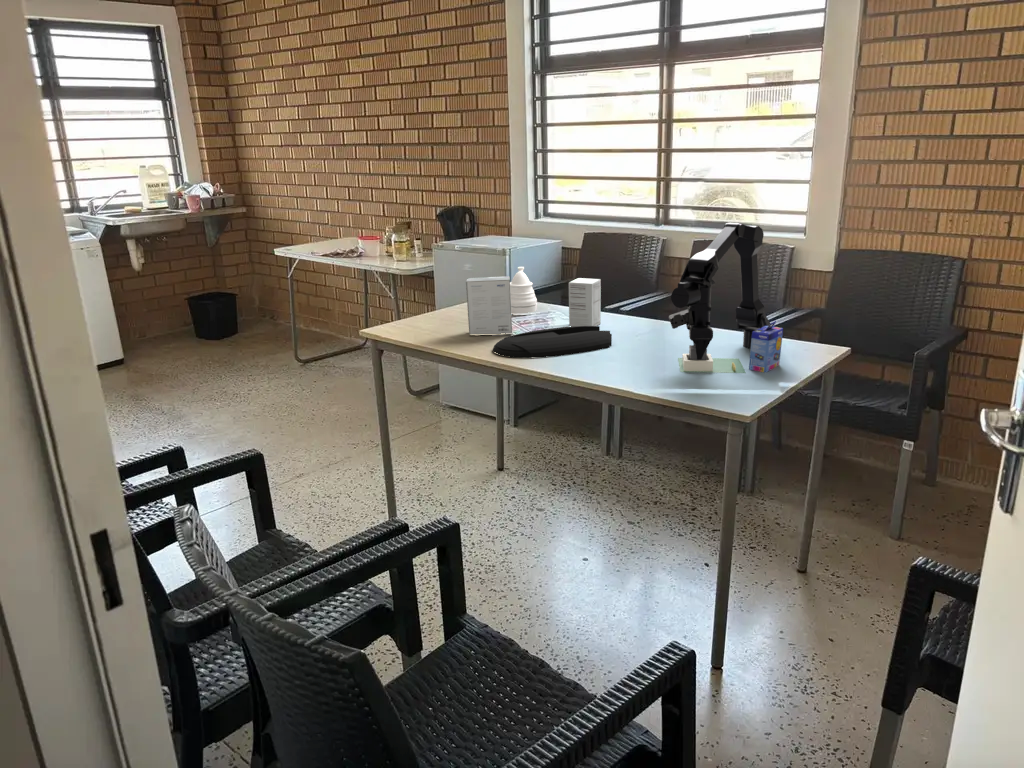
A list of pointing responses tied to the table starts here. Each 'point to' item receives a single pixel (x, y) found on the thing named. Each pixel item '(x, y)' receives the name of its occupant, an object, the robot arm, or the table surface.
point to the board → (721, 366)
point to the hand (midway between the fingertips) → (697, 355)
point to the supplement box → (585, 302)
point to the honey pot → (522, 294)
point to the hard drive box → (489, 305)
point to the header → (697, 364)
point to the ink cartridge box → (765, 348)
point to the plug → (693, 353)
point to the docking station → (554, 342)
